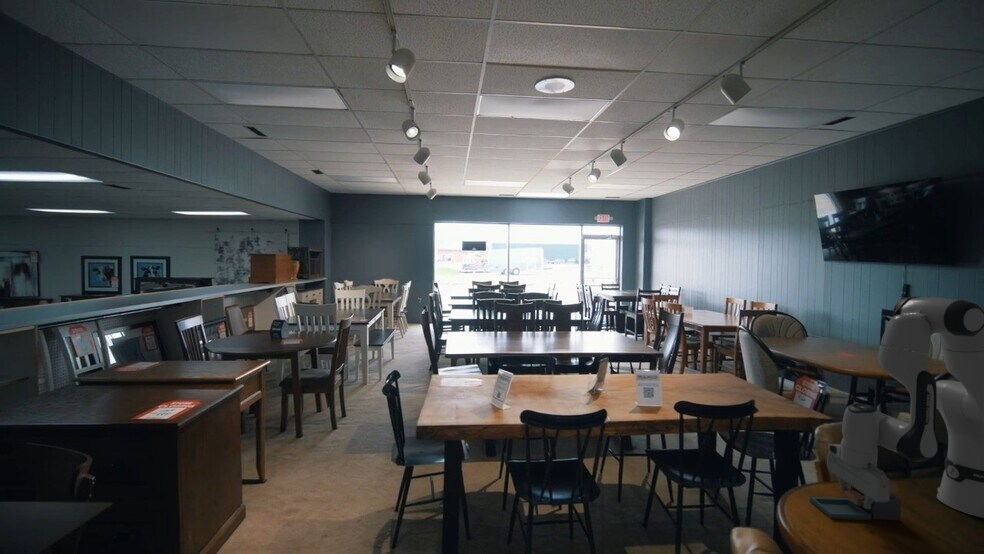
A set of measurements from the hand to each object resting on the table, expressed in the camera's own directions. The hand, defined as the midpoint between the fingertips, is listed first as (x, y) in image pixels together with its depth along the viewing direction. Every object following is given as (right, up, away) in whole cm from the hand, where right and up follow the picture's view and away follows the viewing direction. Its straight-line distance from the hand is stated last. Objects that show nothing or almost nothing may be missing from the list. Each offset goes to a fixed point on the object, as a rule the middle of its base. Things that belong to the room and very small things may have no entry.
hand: (854, 499), depth 138 cm
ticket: (+3, 0, 0) cm, 3 cm away
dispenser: (+6, -3, 0) cm, 7 cm away
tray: (-5, -3, 0) cm, 6 cm away
